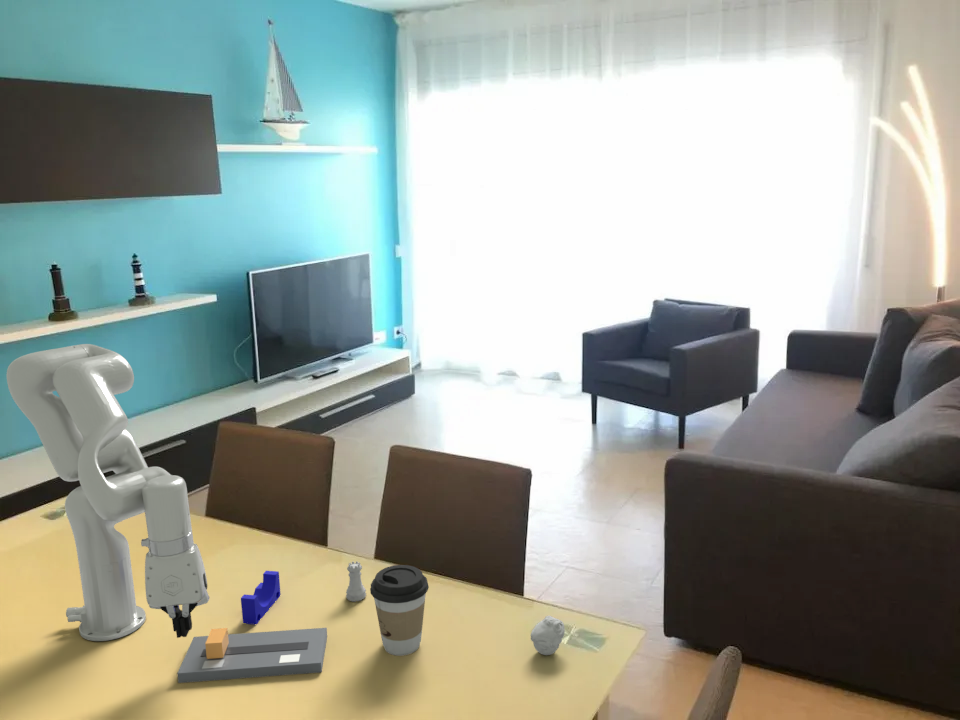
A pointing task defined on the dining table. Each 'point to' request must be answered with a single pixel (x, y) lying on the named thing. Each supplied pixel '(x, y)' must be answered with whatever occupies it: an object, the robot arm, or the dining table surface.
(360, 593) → the rook chess piece
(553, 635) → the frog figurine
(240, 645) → the switch panel
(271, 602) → the blue curved stepped piece
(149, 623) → the dining table surface
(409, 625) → the coffee cup
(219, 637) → the switch knob
